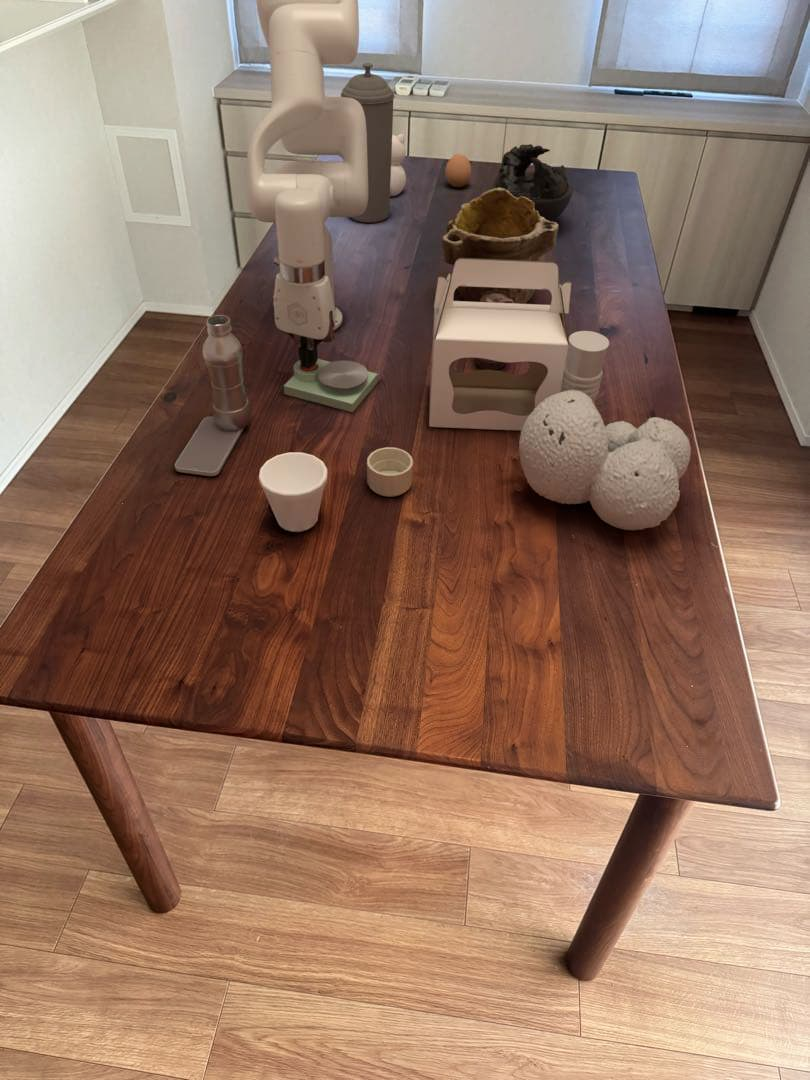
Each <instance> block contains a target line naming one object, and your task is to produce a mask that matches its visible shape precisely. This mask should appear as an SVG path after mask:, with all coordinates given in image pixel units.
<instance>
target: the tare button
mask: <svg viewBox="0 0 810 1080" xmlns="http://www.w3.org/2000/svg"><path fill="white" fill-rule="evenodd" d="M316 369H317V363H315V364H314V365H313V366H312V367H311V368H310V369H307V368H306V367H304V368H303V367H302V370H303V371H314V370H316Z"/></svg>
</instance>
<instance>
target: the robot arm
mask: <svg viewBox="0 0 810 1080" xmlns="http://www.w3.org/2000/svg"><path fill="white" fill-rule="evenodd" d="M255 2H256V10H257V15H258V21H259V24H260V29H261V32H262V35H263V39H264V40H265V43H266V46H267V49H268V51H269V64H270V65H269V66H270V93H271V106H270V109H269V110H268V112H267V114H266V115H265V116H264V117H263V119H261V121H260V122H259V123H258V125H257V127H256V128H255V130H254V132H253V134H252V136H251V139H250V141H249V145H248V150H247V157H246V166H247V167H246V171H247V172H246V173H247V175H246V176H247V196H248V205H249V209H250V212H251V214H252V216H253V217H254V219H256V220H257V221H259V222H261V223H270V224H271V223H274V224H275V226H276V238H277V249H278V250H277V251H278V256H276V255H275V256H274V258H273V264H274V265H276V266H278V269H279V272H278V273H277V274H276V275H275V282H274V293H273V297H272V300H273V302H272V306H273V314H274V324H275V326H276V328H277V329H278V330H279V331H280V332H283V333H285V334H287V335H289V336H290V338H292V340H293V341H294V345H295V346H296V347H297V348H298V358H299V361H301V367H303V368H304V367H306V368H307V369H310V368H311V367H312V366H313V365H314V364H315V363H316V362H317V360H318V359H319V357H318V354H319V353H318V345H320V344H321V343H332V342H333V341H335V339H336V335H335V330H338V328H339V327H340V326H341V325H343V313H342V311H341V310H340V309H339V308H338V307H336V306H335V305H336V303H335V281H334V279H335V278H334V257H333V255H334V254H333V239H332V236H331V232H330V230H329V229H328V227H327V226H326V224H325V223H326V222H327V220H328V219H330V218H350V217H355V216H359V215H362V214H363V213H364V212H365V210H366V208H367V204H368V160H367V131H366V120H365V114H364V111H363V108H362V106H361V104H360V103H359V102H358V101H357V100H355V99H353V98H348V97H341V96H326V95H325V76H324V75H325V73H324V67H323V66H324V65H350V64H352V63H353V62H354V61H355V60H356V58H357V55H358V51H359V45H360V44H359V43H360V18H359V17H360V16H359V15H360V14H359V0H256V1H255ZM279 140H280V142H281V144H282V147H283V148H284V149H285V151H287V153H291V154H295V155H305V156H339V157H340V158H341V159H342V160H343V161H340V160H339V161H338V160H334V161H330V160H328V161H327V160H326V161H325V160H324V161H323V160H293V161H288V162H285V163H283V164H280V166H278V168H277V169H276V170H275V172H274V173H265V161H266V157H267V154H268V152H269V151H270V149H271V148H272V147H273V146H274V145H275V144H276V143H277V142H279Z"/></svg>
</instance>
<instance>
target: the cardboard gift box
mask: <svg viewBox="0 0 810 1080" xmlns="http://www.w3.org/2000/svg"><path fill="white" fill-rule="evenodd" d="M459 286H462V287H465V286H472V287H496V288H521V289H535V290H542V291H546V290H548V291H549V293H550V295H551V298H550V304H537V303H536V304H535V303H526V304H513V303H489V302H466V300H463V301H462V300H461V301H460V300H454V295H455V291H456V289H457V287H459ZM571 289H572V281H568V280H567V281H564V282H563V283H561V279H560V277H559V266H558V264H557V262H555V261H547V260H546V261H545V260H539V261H525V260H501V259H476V258H459V259H457V260H456V261H455V264H454V265H453V269H452V272H451V273H448V274H447V277H446V276H444V275H443V276H442V275H438V276H437V282H436V289H435V294H434V295H435V296H434V303H433V309H434V310H433V325H432V326H433V327H432V343H431V344H432V346H431V362H430V378H429V379H430V381H429V410H428V411H429V417H428V419H429V420H428V424H429V425H428V427H430V428H443V429H444V428H449V429H470V430H492V431H494V430H495V431H515V432H516V431H518V432H521V431H522V428H523V426H524V423H525V421H526V420H527V418H528V416H529V415H530V414H531V413H532V412H533V410H534V409H535V408H536V407H537V406H538V405H539V404H540V403H541V402H543V401H544V400H545V398H548V397H549V396H551V395H554V394H557V393H560V389H561V384H562V379H563V374H564V368H565V363H566V359H567V354H568V349H569V334H568V328H567V327H568V326H567V319H566V314H569V313H570V302H571V301H570V300H571ZM465 358H466V359H467V358H474V359H475V358H484V359H489V360H494V361H500V362H506V363H520V362H521V363H522V362H525V363H526V362H529V366H528V370H527V372H525V373H523V374H520V375H519V374H517V375H516V374H512V373H508V372H506V371H502V370H483V369H480V370H474V371H473V370H472V371H467V372H464V371H463V372H461V371H458V370H455V369H454V368H453V362H455V361H457V360H460V359H465Z"/></svg>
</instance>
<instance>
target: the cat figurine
mask: <svg viewBox="0 0 810 1080" xmlns="http://www.w3.org/2000/svg"><path fill="white" fill-rule="evenodd" d="M404 143H405V135H404V133H399V134H398V135H395V134H392V156H391V181H390V197H396V196H398V195H399V194H401V193H402V191H403V190H404V188H405V187H406V183H407V176H406V171H405V169H404V167H403V165H401V164H402V163H403V162H404V161H405V158H406V155H407V151H406V146H405V144H404Z"/></svg>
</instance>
